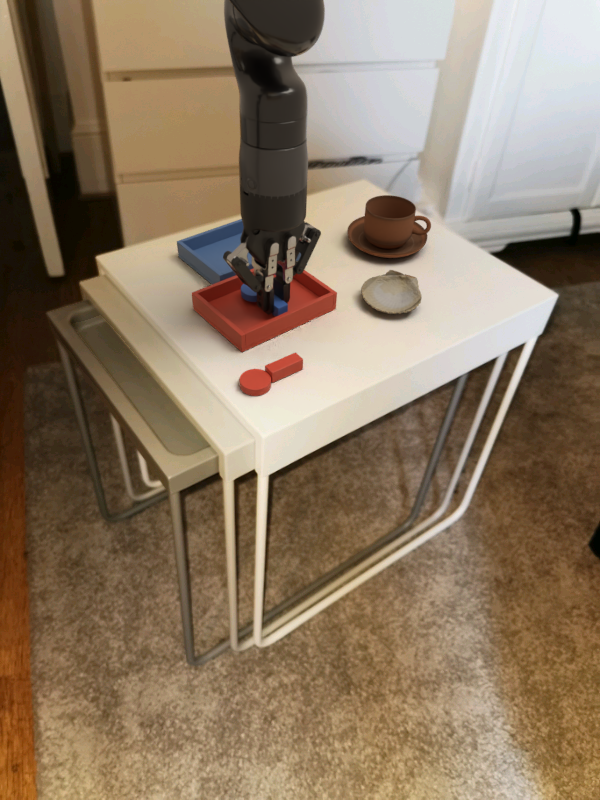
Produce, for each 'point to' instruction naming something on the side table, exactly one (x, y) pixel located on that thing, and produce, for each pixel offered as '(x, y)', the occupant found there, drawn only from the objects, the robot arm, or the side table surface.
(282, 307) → the blue spoon
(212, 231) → the blue tray
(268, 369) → the red spoon
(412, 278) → the seashell
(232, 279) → the red tray
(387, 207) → the cup and saucer
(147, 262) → the side table surface
